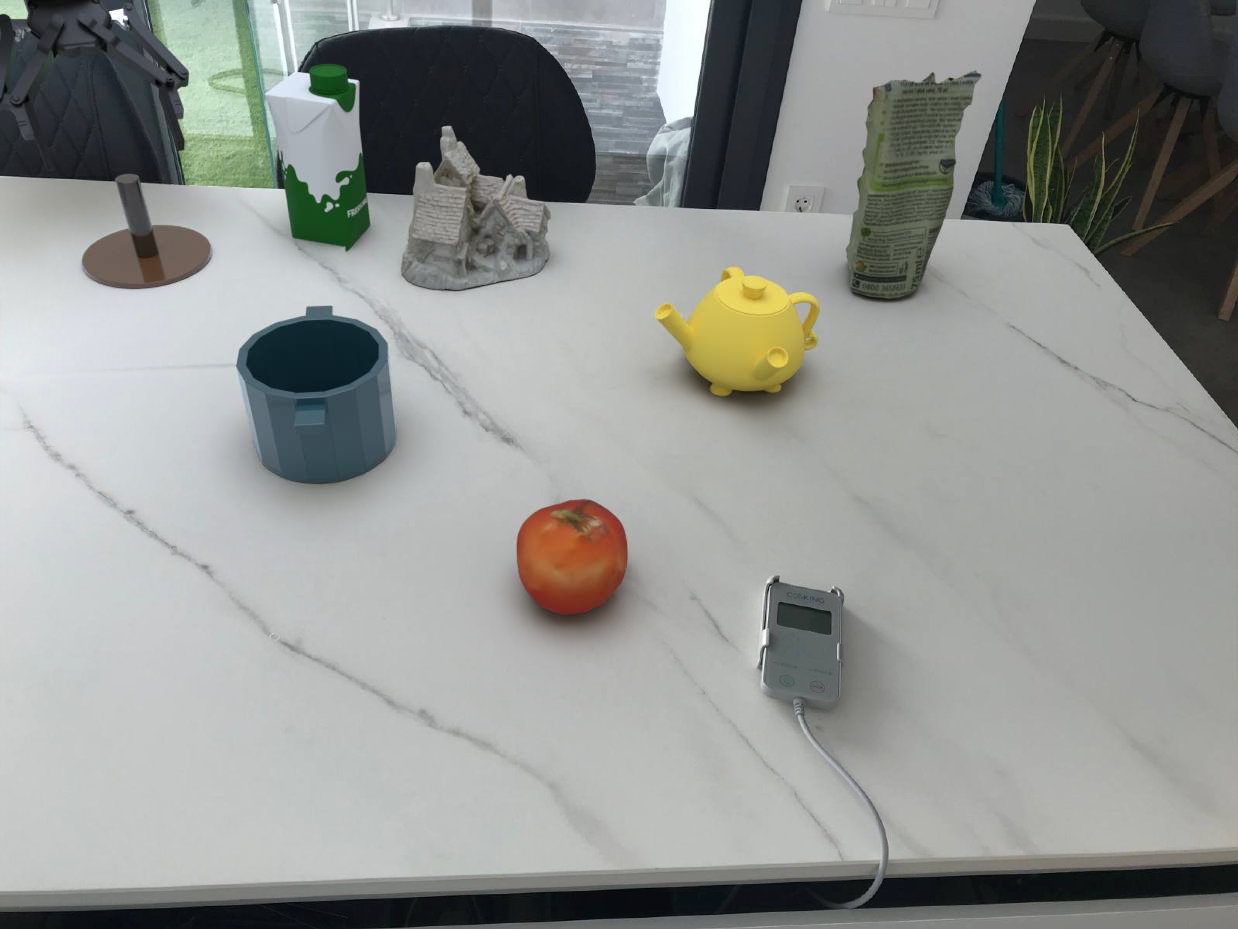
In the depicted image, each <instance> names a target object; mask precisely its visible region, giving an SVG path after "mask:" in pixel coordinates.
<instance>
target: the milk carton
mask: <svg viewBox="0 0 1238 929" xmlns="http://www.w3.org/2000/svg"><path fill="white" fill-rule="evenodd" d="M264 98H265V100H266V103H267V106H268V109H269V112H270V115H271V118H272V122H273V126H274V133H275V139H276V143H277V150H278V156H279V163H280V168H281V174H282V180H283V187H284V193H285V198H286V206H287V212H288V213H287V214H288V218H289V225H290V232H291V237H292V239H296V240H301V241H303V240H304V241H307V242H308V241H309V242H314V243H319V244H320V243H321V244H327V245H332V246H336V247H337V246H338V247H343V248H344V247H345V248H344V249H345V251H349V250H350V249H351V247H352V246H353V245H354V244H355V243H356V242H357V241H358V239H359V238H360V237H362V235H363V234H364V233H365V231H367V229H368V228H369V227H370V226H371V218H370V210H369V209H370V208H369V201H368V194H367V185H366V184H367V182H366V175H365V174H366V173H365V166H364V155H363V147H362V138H361V137H362V136H361V128H360V81H359V80H358V79H353V78H352V79H351V78H349V76H348V70H347V68H346V67H345V66H343V65H339V64H334V63H322V64H317V65H314V66H312V67H310V68H309V71H308V72H300V71H294V72H292V73H291V74H290V75H288V76H287V77H285V78H284V79H283V80H281V81H280V82H279V83H277V84H276V85H274V87H272V88H270V89H269V90H268V91H266V92H265V93H264Z"/></svg>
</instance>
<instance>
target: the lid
mask: <svg viewBox="0 0 1238 929" xmlns="http://www.w3.org/2000/svg"><path fill="white" fill-rule="evenodd" d="M114 181H115V185H116V189H117V193H118V195H119V199H120V203H121V207H122V210H123V213H124V217H125V219H126V224H127V228H125V229H122V230H117V231H115V232H111V233H110V234H107V235H105V236H103V237H100V238H99V239H97V240H96V241H95V242H93V243H92V244H90V245H89V246H88V247H87V248H86V250H85V251H84V253H83V255H82V258H81V264H82V268H83V271H84V272H85V274H86V275H87V276H88V277H89V278H90V279H92V280H93V281H95V282H97V283H99V284H102V285H105V286H110V287H114V288H121V289H147V288H149V289H150V288H156V287H162V286H165V285H169V284H173V283H177V282H179V281H181V280H185V279H187V278H189V277H191V276H193V275H195V274H197V273H198V272H200V271H201V270H202V269H204V268H205V266H207V264H208V263H209V262H210V260H211V258H212V254H213V251H212V245H211V242H210V240H209V239H208V238H207V237H206V236H205V235H204V234H202V233H200V232H199V231H196V230H194V229H192V228H188V227H184V226H179V225H171V224H170V225H169V224H152V221H151V217H150V213H149V210H148V206H147V205H148V204H147V202H146V198H145V194H144V190H143V186H142V183H141V180H140V177H139V175H137V174H135V173H124V174H120V175H117V176H116V178H115V179H114Z"/></svg>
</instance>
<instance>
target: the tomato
mask: <svg viewBox="0 0 1238 929" xmlns="http://www.w3.org/2000/svg"><path fill="white" fill-rule="evenodd" d="M628 550H629V549H628V539H627V535H626V529H625V527H624V525H623V524H622V522H621V520H620V519H619V518H618V517H617V516H616V515H615V514H614V513H613V512H612V511H611V510H609V509H608V508H607V507H605V506H604V505H602V504H600V503H598V502H596V501H594V500H592V499H588V498H582V499H581V498H580V499H569V500H566V501H563V502H559V503H555V504H552V505H548V506H544V507H541V508H540V509H538V510H536V511H534V512H533V513H532V514H531V515H529V516H528V517H527V518H526V519H525V520H524V521H523V523H522V524H521V526H520V528H519V529H518V533H517V536H516V565H517V571H518V577H519V580H520V583H521V585H522V587H523V588H524V590H525V591H526V592H527V594H528V595H529V596H530V598H532V600H534V601H535V603H536V604H538V605H539V606H540V607H541V608H543V609H544V610H545V609H546V610H548V611H551V612H553V613H555V614H558V615H564V616H569V615H576V614H585V613H587V612H590V611H591V610H593V609H595V608H598V607H601V606H602V605H603V604H605V602H607V600H608V599H610V597H611V596H612V594H614V593H615V591H616V590H617V588H618V587H619V586H620V585H621V584H622V582H623V580H624V578H625V575H626V570H627V566H628V556H629V553H628V552H629V551H628Z"/></svg>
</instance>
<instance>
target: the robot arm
mask: <svg viewBox="0 0 1238 929" xmlns="http://www.w3.org/2000/svg"><path fill="white" fill-rule="evenodd" d="M23 3H24V5H25V6H24V7H25V9H26V12H27V17H26V18H11V17H10V15H8V14H6V13H0V111H4V110H5V111H9V112H11V113H12V114H14V116H15V119H16V123H17V125H18V128H19V131H20V133H21V136H22V138H23V139H24V140H25V141H26V142H29V141H34V140H35V141H36V144H37V146H38V150H39V152H40V155H41V158H42V161H43V164H44V167H45V170H46V172H52V171H55V170H56V169H55V166H54V162H53V159H52V155H51V153H50V151H49V147H48V145H47V141H46V139H45V137H44V133H43V131H42V127H41V125H40V122H39V119H38V116H37V114H36V111H35V107H34V105H33V102H32V100H33V98H34V97H35V95H36V93H37V91H38V90H39V88H40V86H41V84H42V82H43V80H44V79H45V76H46V75H47V73H48V71H49V70H50V68H51V66H53V65H54V64H55V62H56V60H57V58H58V56H60V57H64V58H65V59H66V60H68V59H75V58H78V57H80V56H82V57H83V56H84V57H95V56H97V54H98V53H101V52H102V53H103V54H104V55H106V56H108V57H109V58H111V59H113V60H116V61H118V62H119V63H120V64H122V65H124V66H125V67H127V69H130V71H132V72H133V73H135V74H137V75H138V76H139V77H141V78H142V79H144V80H145V81H147V82H148V83H149V84H151V85H152V86H154V87H155V88H157V89H158V100H159V102H160V105H161V108H162V111H163V114H164V117H165V121H166V123H167V125H168V128H169V132H170V133H171V137H172V139H173V142H174V145H175V148H176V151H177V152H183V151H185V144H186V140H185V136H184V134H183V130H182V129H181V125H180V123H179V120H183V119H184V115H185V109H184V105H183V101H182V100H181V99H182V98H181V97H180V93H179V91H178V90H179V89H181V88H187V87H188V86H189V82H190V72H189V69H188V68H187V67H186V66H185V65H184V64H183V63H182V62H181V61H180V60H179V59H178V58H177V57H176V55H175V54H173V53H172V52H171V51H170V49H168V47H166V45H165V44H164V43H163V42H162V41H161V40H160V39H159V38H158V37H157V36H156V35H155V34H154V33H153V31H152V30H151V29H150V28H148V26H147V25H146V24H145V23H143V21H142V20H141V18H140V16H139V13H138V11H137V10H136V8H135V6H134V4H132V3H130V2H125V3H123V5H122V8H120V9H113V10H110V11H109V10H108V9H107V8H106V7H105V6H104V5H103V3H102V0H23ZM113 25H118V26H119V27H120V28H121V29H122V30H123V31H124V32H129V34H130V35H131V37H132V38H133V39H134V40H135V41H136V42H137V43H138V44H139V45H140V47H141V48H143V49H144V50H145V51H146V53H147V54H148V55H149V56H150V57H151V58H152V59H153V60H154V62H156V63H157V64H158V65H159V66H158V65H157V64H156V63H154V62H153V61H152V60H150V59H148V58H147V57H146V56H144V55H142V54H141V53H139V52H138V51H137V50H136V49H134V48H132V47H131V46H130V45H128V44H127V43H126V42H124V41H123V40H121V39H120V37H119V36H118V35H116V34H115V33H114V32H113V31H111V30H112V28H113ZM26 33H30V34H31V35H32V36H33V37H34V38H36V39H37V40H38V42H37V44H36V49H35V51H34V53H33V54H32V56H31V58H30V59H29V62H28V63H27V65H26V67H25V69H24V70H23V72H22V73H21V75H20V77H19V79H18V80H17V83H16V84H15V86H14V88H13V89H12V92H10V93H9V89H10V86H11V81H12V76H13V72H14V67H15V61H16V57H17V54H18V53H17V52H18V43H20V42H22V41H23V40H24V36H25V34H26Z"/></svg>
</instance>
